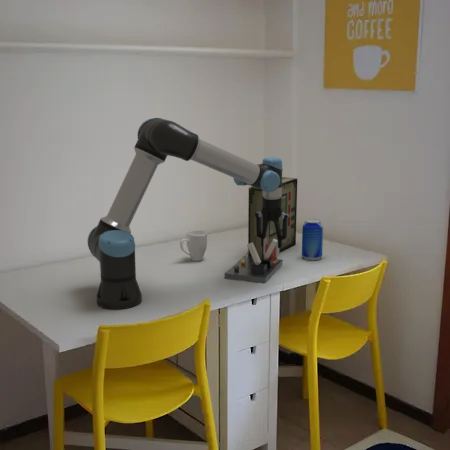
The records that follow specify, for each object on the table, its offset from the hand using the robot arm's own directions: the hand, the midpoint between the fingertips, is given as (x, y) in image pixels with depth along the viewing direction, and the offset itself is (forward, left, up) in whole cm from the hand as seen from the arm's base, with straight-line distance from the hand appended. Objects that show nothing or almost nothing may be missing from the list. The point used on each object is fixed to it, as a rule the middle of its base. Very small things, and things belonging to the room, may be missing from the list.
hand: (271, 254), depth 250 cm
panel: (-9, +4, -4) cm, 11 cm away
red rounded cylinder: (0, 0, -2) cm, 2 cm away
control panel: (+20, +5, -5) cm, 21 cm away
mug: (-4, +32, -5) cm, 33 cm away
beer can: (+16, -13, -5) cm, 21 cm away
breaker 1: (-16, 0, +1) cm, 16 cm away
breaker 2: (-8, 0, +1) cm, 8 cm away
